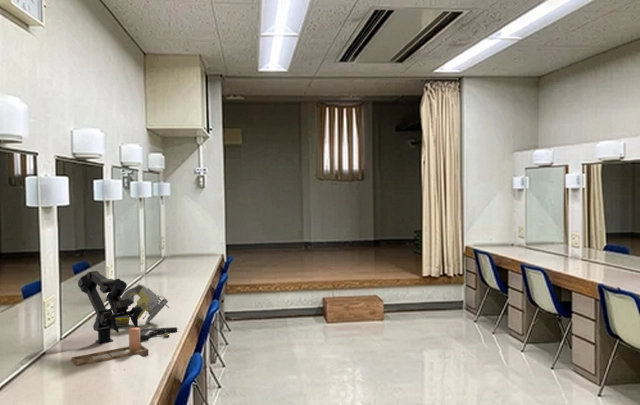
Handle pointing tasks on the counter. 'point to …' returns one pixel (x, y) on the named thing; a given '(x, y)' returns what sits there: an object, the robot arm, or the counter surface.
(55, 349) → the counter surface
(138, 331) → the smooth tapered peach-colored object
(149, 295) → the circular saw
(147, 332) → the pistol
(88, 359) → the box
